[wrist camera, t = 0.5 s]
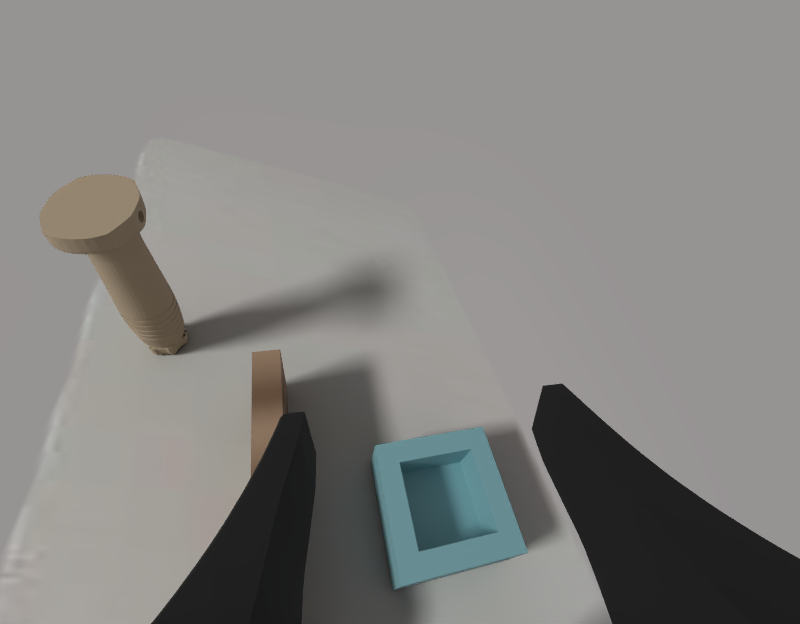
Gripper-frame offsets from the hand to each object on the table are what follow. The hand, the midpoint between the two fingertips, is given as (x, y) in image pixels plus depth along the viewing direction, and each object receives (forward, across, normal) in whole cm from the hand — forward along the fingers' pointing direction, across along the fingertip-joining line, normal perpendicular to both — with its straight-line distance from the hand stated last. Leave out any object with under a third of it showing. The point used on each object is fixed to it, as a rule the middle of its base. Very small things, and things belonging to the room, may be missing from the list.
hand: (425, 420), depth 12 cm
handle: (+22, +20, +12) cm, 32 cm away
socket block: (+7, -2, +20) cm, 21 cm away
